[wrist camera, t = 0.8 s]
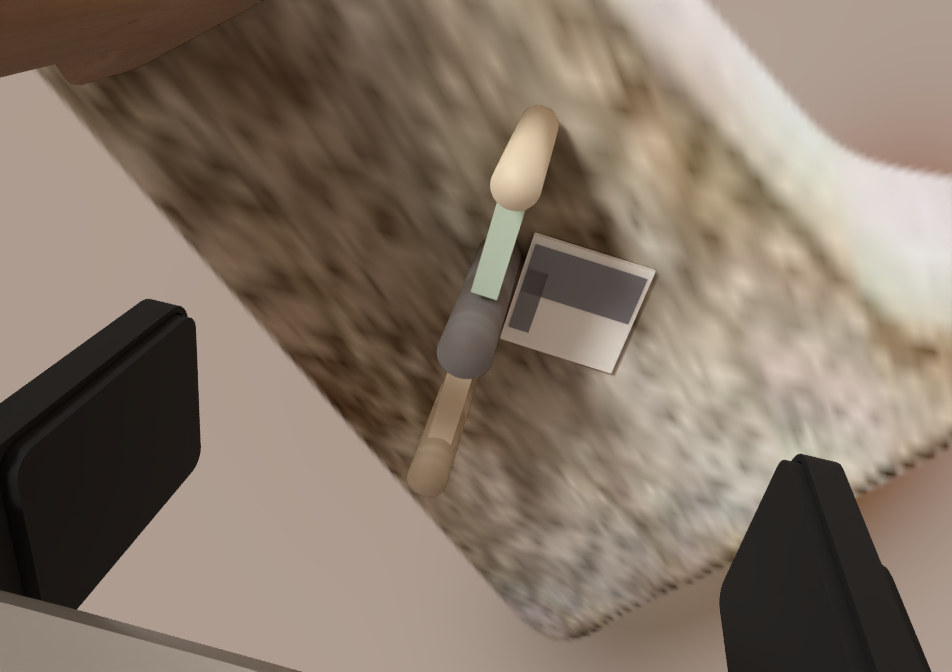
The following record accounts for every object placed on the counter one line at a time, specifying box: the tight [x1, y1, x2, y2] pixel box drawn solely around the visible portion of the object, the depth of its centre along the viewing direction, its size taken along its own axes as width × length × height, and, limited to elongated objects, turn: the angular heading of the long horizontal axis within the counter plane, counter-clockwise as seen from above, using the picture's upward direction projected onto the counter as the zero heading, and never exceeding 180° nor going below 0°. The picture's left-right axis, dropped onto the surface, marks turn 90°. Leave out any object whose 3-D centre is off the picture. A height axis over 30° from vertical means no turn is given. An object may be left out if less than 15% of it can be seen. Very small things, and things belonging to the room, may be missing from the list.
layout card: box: [500, 232, 655, 374], centre depth 34 cm, size 6×6×1 cm
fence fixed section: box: [407, 239, 521, 497], centre depth 31 cm, size 8×2×9 cm, turn 165°
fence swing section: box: [471, 105, 559, 300], centre depth 27 cm, size 6×2×8 cm, turn 165°
